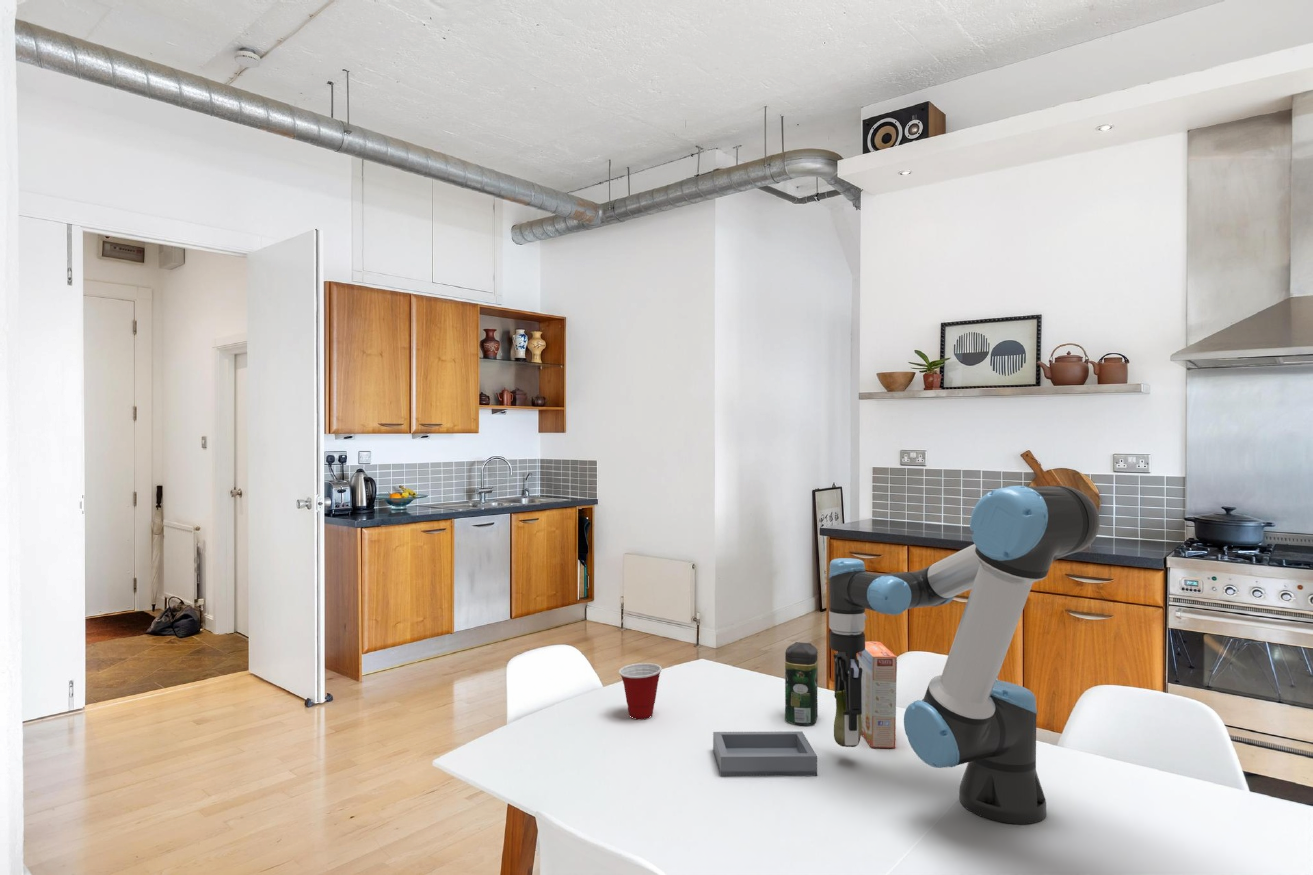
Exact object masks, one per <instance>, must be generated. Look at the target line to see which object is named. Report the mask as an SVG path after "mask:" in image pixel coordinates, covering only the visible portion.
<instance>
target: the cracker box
mask: <svg viewBox="0 0 1313 875" xmlns="http://www.w3.org/2000/svg"><path fill="white" fill-rule="evenodd" d="M857 660H859V668H862V678H861V688H862V714H861V719H862V731H861V735H862V736H863V738H864V739H865V740H866V742H867V743H868V745H869V746H870V747H871V748H876V749H877V748H878V749H879V748H880V749H881V748H883V749H895V748H896V741H897V740H896V739H897V738H896V737H897V736H896V734H897V724H896V723H897V674H898V672H897V671H898V667H897V666H898V665H897V664H898V656H897V655H895V654H894V653H893V652H892V651H891V650H890V649H889V648H887V646H885V645H884V643H882V642H881V641H873V640H871V641H865V650H864V651H862V652H858V653H857Z"/></svg>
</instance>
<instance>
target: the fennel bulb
mask: <svg viewBox="0 0 1313 875" xmlns="http://www.w3.org/2000/svg"><path fill="white" fill-rule="evenodd" d="M834 695H836V699H835V706H836V708H835V716H834V720H833V722H834V723H833V738H834V741H835V743H836V744H837V745H839V746H840V747H845V748H855V747H858V745H859V744H860V742H861V737H862V733H861V731H862V719H861V714H859V715H858V745H845V715H843V712H846V701H845V690H843V698H842V691H836V692H835V691H834Z"/></svg>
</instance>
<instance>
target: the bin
mask: <svg viewBox="0 0 1313 875" xmlns="http://www.w3.org/2000/svg"><path fill="white" fill-rule="evenodd" d="M712 733H713V734H712V735H713V736H712V746H713V747H712V751H713V754H714V758H715V762H716V765H717V768H718V771H719V776H720V777H804V776H805V777H807V776H808V777H809V776H810V777H811V776H813V777H817V776H818V755H817V754H816V753H817V752H816V751H815V750H814V748H813V747H812V745H811V743H810V742H809V740H808V738H807V737H806V735H805V734H804V732H803V731H801V730H800V731H799V730H798V731H793V730H792V731H790V730H789V731H788V730H787V731H713V732H712Z"/></svg>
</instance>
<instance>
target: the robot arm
mask: <svg viewBox="0 0 1313 875" xmlns="http://www.w3.org/2000/svg"><path fill="white" fill-rule="evenodd" d="M969 519H970V520H969V529H970V530H969V531H970V532H971V533H972V535H971V539H972V542H973V544H971V545H968V546H967V547H965V548H963V549H961V550H959V551H957V552H954V553H953V554H951V555H948V556H947V557H944V558H942V559H940V560H939V561H937V562H935V563H933V564H931V565H929V566H927V567H924V568H923V569H920V570H915V571H904V572H894V573H892V572H891V573H890V572H889V573H875V572H874V573H873V572H867V571H866V566H865V561H863V560H861V559H858V558H850V557H848V558H844V557H841V558H833V559H832V560H831V561H830V562H829V571H828V578H827V579H828V597H829V599H828V600H829V602H828V603H829V608H828V609H829V610H828V628H829V629H830V632H828V634H829V635H828V636H829V644H828V646H829V648H830V649H831V650H832V651H835V653H833V665H834V667H833V668H834V669H833V670H834V674H833V675H834V693H835V692H836V691H842V698H843V690H845V701H846V712H843V715H845V745H857V746H859V744H858V715H859V714H862V688H861V678H862V668H859V660H858V652H862V651H864V650H865V642H866V634H865V633H864V631H865V630H866V624H865V623H866V621H865V620H868V616H867V615H866V614H865V613H866V610H869V611H873V612H877V613H879V614H883V615H891V616H897V615H898V616H899V615H902V613H904V612H905V611H907V610H909V609H910V610H911V609H916V608H925V607H939V606H942V605H948V604H949V603H951V602H952V601H953V600H954V597H955V596H958V595H961V594H962V593H966V592H967V591H969V590H970V592H969V595H968V598H967V601H966V603H965V607H964V609H963V613H962V616H961V618H960V621H959V623H958V626H957V629H956V633H955V636H954V639H953V642H952V644H951V647H950V650H949V653H948V656H947V659H946V662H945V664H944V667H943V669H942V673H941V674H940V675H937V676H934V677H932V678H931V679H930V681H929V683H928V686H927V689H926V690H925V694H924V697H923V699H922V700H920V699H917V700H915V701H913V702H912V703H910V704H908V706H907V707H906V709H905V711H904V714H903V726H904V732H905V735H906V737H907V741H908V743H909V745H910V747H911V748H912V750H913V751H914V753H915V754H916V755H917V757H918V758H919V759H920V760H921V761H922V762H923V763H925V764H927V765H928V766H930V767H933V768H937V769H943V768H954V767H956V766H959V765H960V766H961V765H963V764H966V768H965V770H964V773H963V776H962V779H961V782H960V784H959V790H958V792H959V794H958V795H959V796H958V799H959V802H960V804H961V805H962V807H964V808H965V809H967V810H968V811H970V812H971V813H973V814H975V815H977V816H980V817H983V818H986V819H989V820H992V821H995V822H1000V823H1004V824H1005V823H1006V824H1015V825H1017V824H1019V825H1024V824H1025V825H1026V824H1033V823H1037V822H1040V821H1041V820H1043V819H1044V818H1045V817H1046V816H1047V801H1046V797H1045V794H1044V790H1043V787H1042V785H1041V781H1040V778H1039V775H1038V772H1037V715H1038V710H1037V699H1036V696H1035V695H1034V693H1033V692H1032V691H1031V690H1030V689H1029V688H1026V687H1024V686H1023V685H1022V686H1021V685H1019V684H1016V683H1012V682H1009V681H1004V680H999V679H998V677H999V675H1000V672H1001V669H1002V667H1003V663H1004V662H1005V658H1006V655H1007V653H1008V651H1009V648H1010V645H1011V642H1012V640H1013V637H1014V635H1015V632H1016V629H1017V626H1018V624H1019V621H1020V618H1021V615H1022V614H1023V610H1024V608H1025V605H1026V602H1027V600H1028V597H1029V595H1030V592H1031V589H1032V586H1033V584H1034V583H1036V582H1039V581H1042V580H1044V579H1046V578H1047V575H1048V574H1049V570H1050V568H1051V566H1052V564H1053V561H1056V560H1058V559H1060V558H1064V557H1066V556H1069V555H1072V554H1075V553H1079V552H1081V551H1083V550H1084V549H1085V550H1086V548H1088V547H1089V546H1091V545H1092V543H1093V542H1094V541H1095V540H1096V538H1097V537H1098V535H1099V531H1100V527H1101V526H1100V525H1101V524H1100V523H1101V520H1100V513H1099V511H1098V508H1097V506H1096V504H1095V503H1094V501H1093V500H1092V499H1091V498H1090V497H1089V496H1088V495H1087V494H1085V493H1084V492H1082V491H1081V490H1078V489H1077V488H1074V487H1070V486H1066V485H1048V486H1047V485H1044V486H1043V485H1042V486H1025V485H1009V486H1006V487H1000V488H996V489H993V490H991V491H989V492H986V494H984V495H983V496H982V497H981V498H980V499H979V500H978V501H977V502H976V504H975V506H974V508H973V509H972V512H971V516H970V518H969ZM833 696H834V698H835V700H836V695H835V694H833Z"/></svg>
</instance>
